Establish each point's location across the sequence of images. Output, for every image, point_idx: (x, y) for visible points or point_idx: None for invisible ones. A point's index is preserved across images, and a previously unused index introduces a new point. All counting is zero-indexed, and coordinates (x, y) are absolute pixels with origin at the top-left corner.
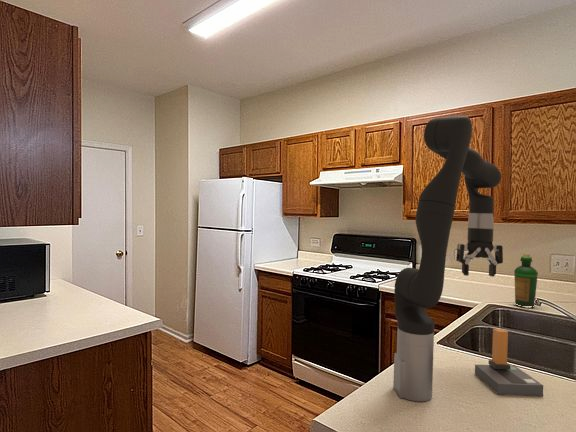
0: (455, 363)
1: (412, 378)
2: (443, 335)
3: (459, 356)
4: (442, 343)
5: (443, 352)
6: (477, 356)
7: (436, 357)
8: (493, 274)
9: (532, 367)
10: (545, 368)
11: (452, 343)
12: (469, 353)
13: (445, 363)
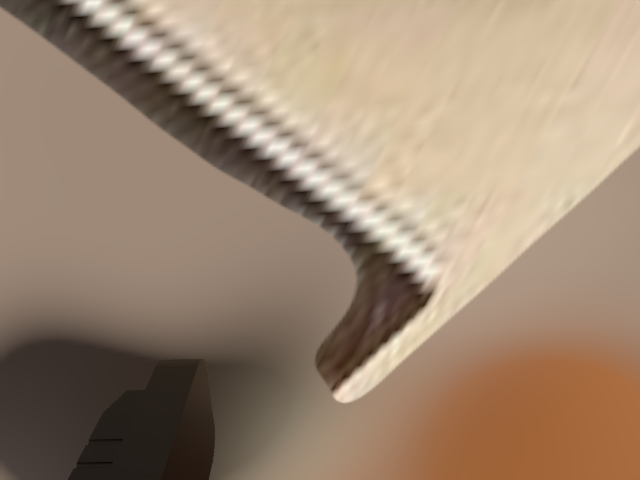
0: (473, 52)
1: None
2: (352, 384)
3: (406, 143)
4: (406, 292)
5: (460, 186)
6: (315, 151)
7: (529, 121)
8: (172, 376)
9: (101, 36)
10: (40, 28)
11: (358, 297)
12: (336, 185)
13: (524, 48)
